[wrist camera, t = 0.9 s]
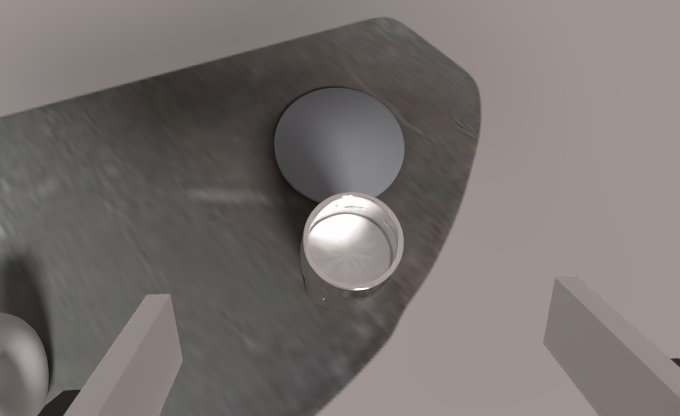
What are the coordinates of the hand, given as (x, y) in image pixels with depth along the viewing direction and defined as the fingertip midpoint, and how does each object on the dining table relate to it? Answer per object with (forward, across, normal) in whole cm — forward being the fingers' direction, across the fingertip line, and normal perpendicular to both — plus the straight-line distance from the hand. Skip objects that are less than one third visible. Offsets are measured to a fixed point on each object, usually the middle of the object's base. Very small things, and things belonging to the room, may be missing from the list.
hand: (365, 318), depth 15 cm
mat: (+33, +1, -1) cm, 33 cm away
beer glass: (+24, 0, -12) cm, 27 cm away
